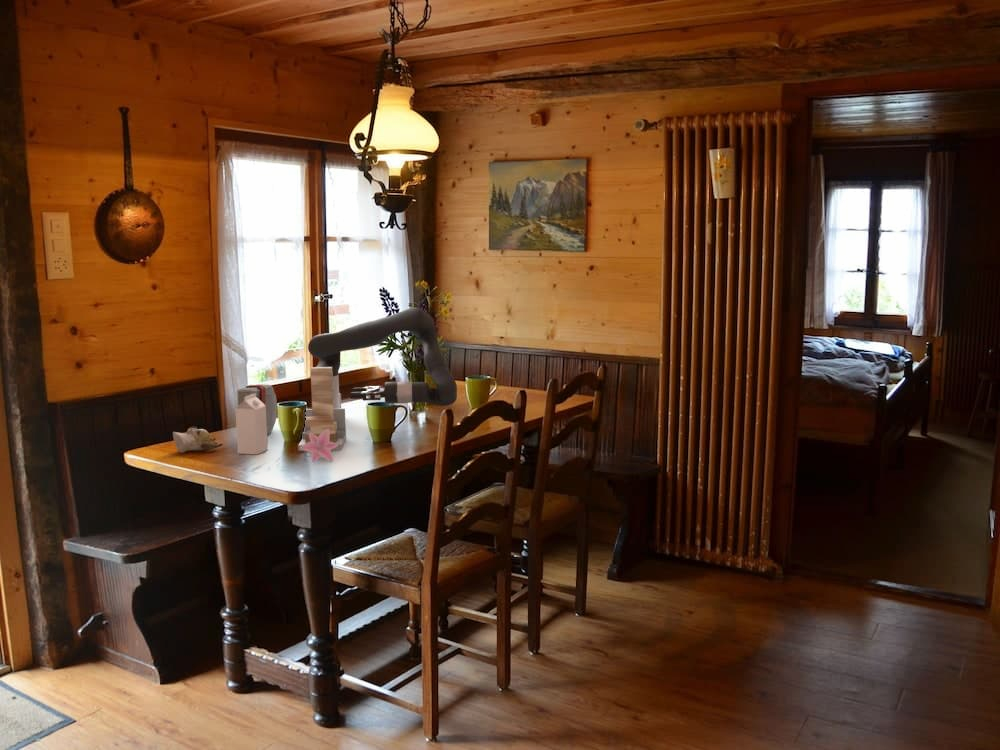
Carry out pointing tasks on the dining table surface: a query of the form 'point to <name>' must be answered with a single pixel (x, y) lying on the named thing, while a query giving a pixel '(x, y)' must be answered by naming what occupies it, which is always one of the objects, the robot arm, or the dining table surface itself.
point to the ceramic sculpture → (194, 440)
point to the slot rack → (341, 427)
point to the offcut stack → (321, 427)
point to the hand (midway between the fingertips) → (351, 393)
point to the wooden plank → (322, 391)
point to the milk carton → (251, 426)
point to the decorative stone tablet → (266, 397)
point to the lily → (320, 446)
